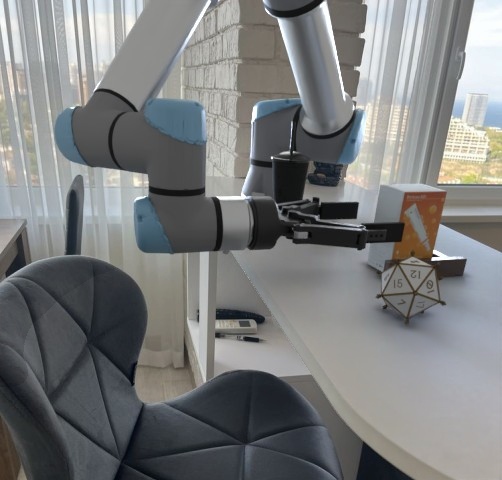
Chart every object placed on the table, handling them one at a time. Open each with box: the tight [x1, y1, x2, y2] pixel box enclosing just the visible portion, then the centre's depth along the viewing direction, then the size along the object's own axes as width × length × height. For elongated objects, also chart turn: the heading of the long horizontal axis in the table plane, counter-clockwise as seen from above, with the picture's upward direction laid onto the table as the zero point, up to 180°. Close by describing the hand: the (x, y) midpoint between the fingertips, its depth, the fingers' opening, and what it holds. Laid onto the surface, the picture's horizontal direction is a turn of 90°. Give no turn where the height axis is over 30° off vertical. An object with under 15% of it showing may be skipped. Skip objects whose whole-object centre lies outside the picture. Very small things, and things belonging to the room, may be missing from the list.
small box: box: [366, 183, 448, 272], centre depth 80 cm, size 8×6×13 cm
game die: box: [374, 250, 447, 327], centre depth 63 cm, size 9×8×10 cm
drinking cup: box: [271, 122, 312, 204], centre depth 98 cm, size 8×8×20 cm
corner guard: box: [383, 249, 468, 278], centre depth 86 cm, size 17×14×3 cm
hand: (377, 220), depth 78 cm, fingers open, 13 cm apart
